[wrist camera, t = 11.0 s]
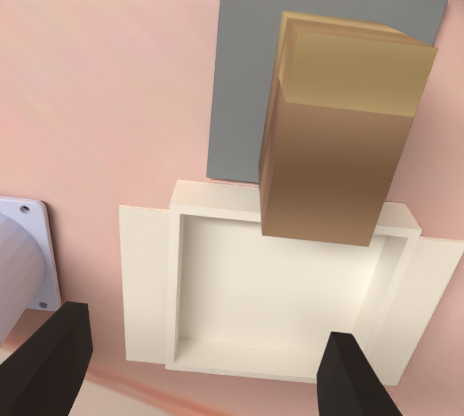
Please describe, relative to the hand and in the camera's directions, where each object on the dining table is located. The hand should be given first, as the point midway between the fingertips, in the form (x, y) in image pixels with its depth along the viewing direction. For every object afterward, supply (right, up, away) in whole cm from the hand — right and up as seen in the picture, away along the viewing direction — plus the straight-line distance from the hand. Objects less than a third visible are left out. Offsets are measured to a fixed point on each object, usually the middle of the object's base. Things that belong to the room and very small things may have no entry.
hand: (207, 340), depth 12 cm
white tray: (+3, 0, +12) cm, 13 cm away
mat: (+4, +9, +7) cm, 12 cm away
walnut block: (+4, +9, +6) cm, 12 cm away
